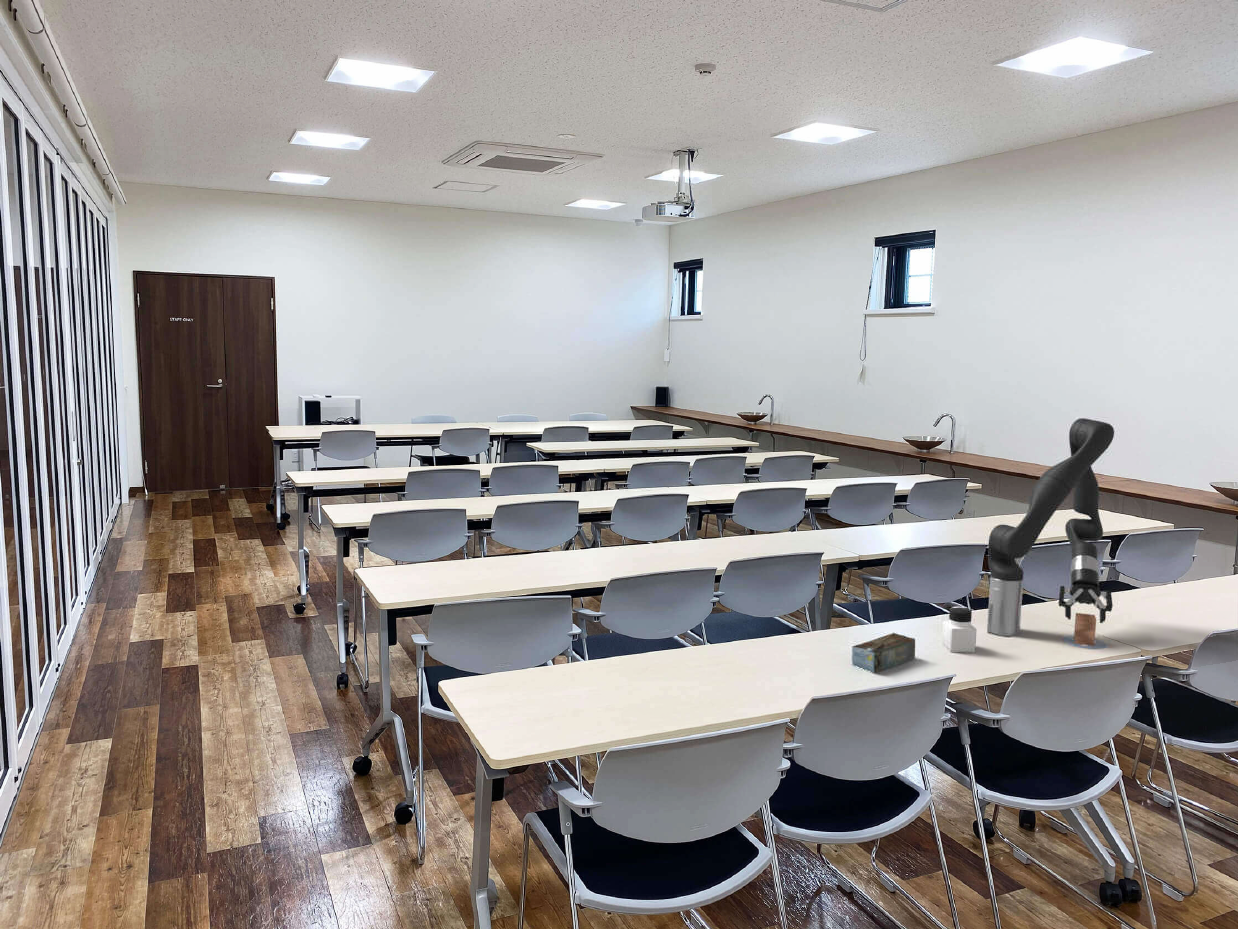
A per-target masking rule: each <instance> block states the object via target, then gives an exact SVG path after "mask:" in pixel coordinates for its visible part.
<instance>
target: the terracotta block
mask: <svg viewBox="0 0 1238 929" xmlns="http://www.w3.org/2000/svg"><path fill="white" fill-rule="evenodd" d="M1074 618H1075V619H1074V621H1075V622H1074V632H1073V636H1074V641H1075V644H1083V645H1091V646H1094V643H1095V639H1096V627H1097V617H1096V615H1095V614H1092V613H1091V614H1089V613H1080V612H1075V617H1074Z"/></svg>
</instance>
